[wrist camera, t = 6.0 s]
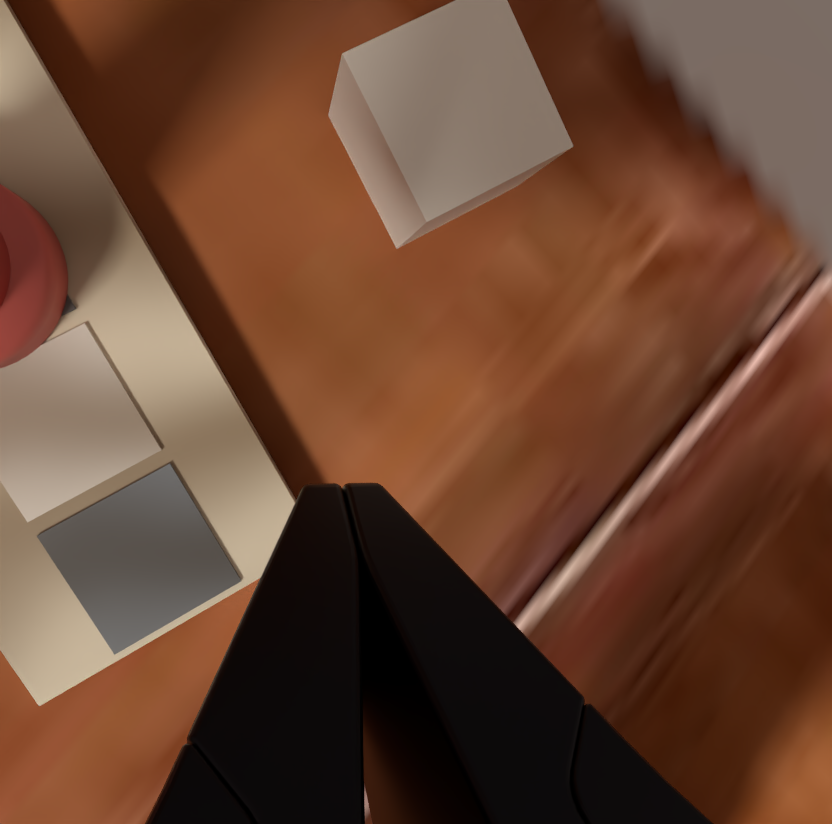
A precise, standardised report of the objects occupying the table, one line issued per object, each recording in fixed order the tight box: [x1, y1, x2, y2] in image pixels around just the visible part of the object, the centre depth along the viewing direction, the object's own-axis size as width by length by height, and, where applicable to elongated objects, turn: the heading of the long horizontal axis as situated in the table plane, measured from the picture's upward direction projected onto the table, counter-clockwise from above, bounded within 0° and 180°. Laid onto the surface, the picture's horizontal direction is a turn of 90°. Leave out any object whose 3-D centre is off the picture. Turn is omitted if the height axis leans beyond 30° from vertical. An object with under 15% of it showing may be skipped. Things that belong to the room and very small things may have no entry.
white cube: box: [328, 0, 573, 249], centre depth 18 cm, size 4×4×4 cm
